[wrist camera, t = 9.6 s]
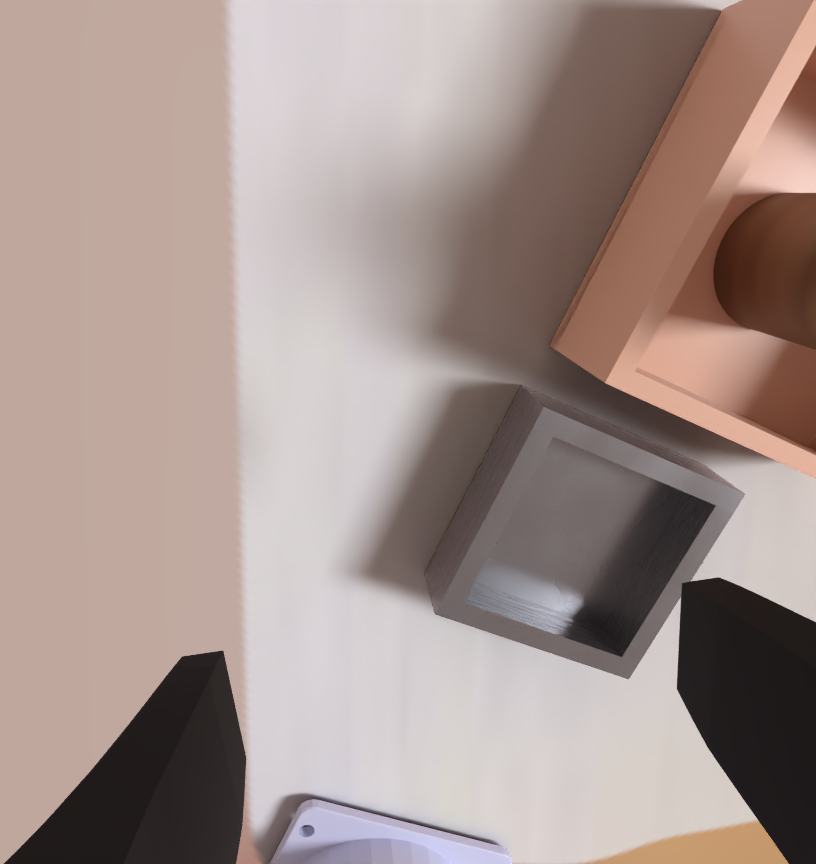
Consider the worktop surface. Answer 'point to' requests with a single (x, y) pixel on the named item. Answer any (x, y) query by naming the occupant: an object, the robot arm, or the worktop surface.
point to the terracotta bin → (710, 242)
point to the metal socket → (576, 536)
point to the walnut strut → (771, 268)
